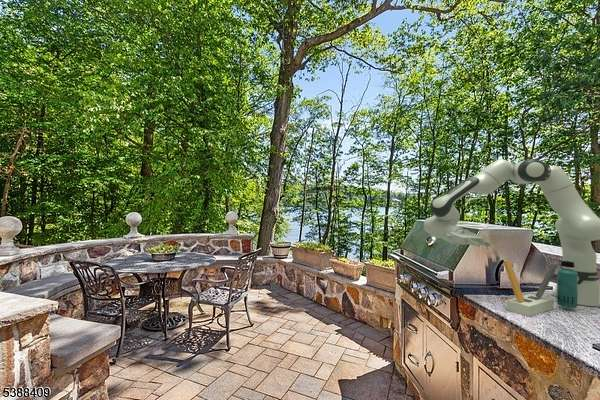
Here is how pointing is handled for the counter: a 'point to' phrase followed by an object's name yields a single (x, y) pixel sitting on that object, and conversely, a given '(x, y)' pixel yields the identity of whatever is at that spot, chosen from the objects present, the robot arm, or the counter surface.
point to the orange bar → (513, 281)
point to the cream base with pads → (529, 305)
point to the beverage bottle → (567, 286)
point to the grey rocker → (546, 279)
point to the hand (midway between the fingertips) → (484, 245)
